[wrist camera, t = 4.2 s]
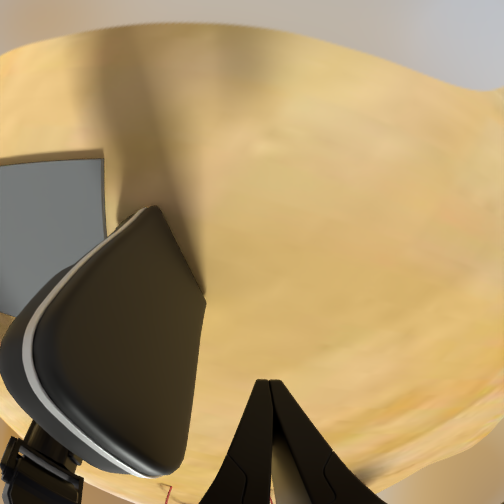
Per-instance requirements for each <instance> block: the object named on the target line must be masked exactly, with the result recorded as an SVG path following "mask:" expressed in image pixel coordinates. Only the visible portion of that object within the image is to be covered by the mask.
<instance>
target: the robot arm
mask: <svg viewBox="0 0 504 504" xmlns="http://www.w3.org/2000/svg"><path fill="white" fill-rule="evenodd" d="M332 451H333V450H332V448H331V447H330V446H329V444H328V443H327V442H326V440H325V439H324V438H323V436H322V435H321V434H320V433H319V431H318V430H317V429H316V427H315V426H314V425H313V423H312V422H311V421H310V419H309V418H308V417H307V415H306V414H305V412H304V411H303V410H302V408H301V407H300V406H299V404H298V403H297V402H296V400H295V399H294V397H293V396H292V395H291V393H290V392H289V391H288V389H287V388H286V386H285V385H284V384H283V382H282V381H281V380H269V381H268V380H267V379H257V380H256V382H255V384H254V387H253V390H252V392H251V395H250V397H249V400H248V403H247V405H246V408H245V410H244V413H243V415H242V418H241V420H240V423H239V425H238V428H237V430H236V433H235V435H234V438H233V440H232V442H231V445H230V447H229V450H228V452H227V455H226V456H225V459H224V461H223V464H222V466H221V468H220V470H219V472H218V474H217V476H216V478H215V479H214V481H213V483H212V484H211V486H210V487H209V489H208V491H207V492H206V493H205V495H204V496H203V498H202V499H201V501H200V502H199V504H270V487H271V475H272V481H273V487H274V493H275V499H276V504H387V503H385V502H384V501H383V500H381V499H380V498H379V497H378V496H377V495H376V494H374V493H373V492H372V491H371V490H370V489H369V488H368V487H367V486H366V485H365V484H363V483H362V482H361V481H360V480H359V479H358V478H357V477H356V476H355V475H354V474H353V473H352V472H351V471H350V470H349V469H348V468H347V467H346V465H345V464H344V463H343V462H342V461H341V460H340V458H339V457H338V456H337V454H336V453H335V452H334V451H333V452H332ZM18 452H20V453H22V454H23V456H21V455H19V454H18ZM82 460H83V459H81V458H80V457H78V456H77V455H75V454H74V453H72V452H71V451H70V450H68V449H67V448H66V447H64V446H63V445H62V444H60V443H59V442H58V441H56V440H55V439H54V438H53V437H52V436H50V435H49V434H48V433H47V432H46V431H45V430H44V429H43V428H42V427H41V426H39V425H38V424H37V423H36V422H35V421H34V420H33V421H32V423H31V425H30V427H29V429H28V431H27V433H26V436H25V438H24V440H21V439H20V438H18V439H17V438H15V437H12V436H11V438H10V440H9V442H8V445H7V447H6V450H5V452H4V454H3V457H2V460H1V463H0V468H1V470H2V473H1V474H2V478H1V479H2V480H3V481H4V482H6V484H5V487H4V491H3V494H2V498H3V501H4V504H81V500H82V490H83V481H84V478H83V477H81V476H77V475H76V474H75V470H76V467H77V465H79V466H80V465H81V463H82ZM501 504H504V502H503V503H501Z"/></svg>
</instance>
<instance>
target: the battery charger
mask: <svg viewBox="0 0 504 504" xmlns="http://www.w3.org/2000/svg"><path fill="white" fill-rule="evenodd" d="M205 308H206V300H205V298H204V296H203V294H202V292H201V290H200V288H199V286H198V284H197V283H196V281H195V279H194V277H193V275H192V273H191V271H190V269H189V267H188V265H187V263H186V261H185V259H184V257H183V255H182V253H181V251H180V249H179V247H178V245H177V243H176V241H175V239H174V237H173V235H172V233H171V231H170V229H169V227H168V225H167V222H166V220H165V218H164V216H163V214H162V212H161V210H160V209H159V207H157V206H151V207H149V208H147V207H144V208H142V209H140V210H138V212H137V213H135V214H133V215H131V216H129V217H128V218H127V219H126V220H124V221H123V222H122V223H121V224H120V225H119V226H118V227H116V229H115V231H114V232H113V233H112V234H110V235H109V236H108V237H107V238H106V239H105V240H103V241H102V242H101V243H99V244H98V245H96V246H95V247H94V248H93V249H92V250H90V251H89V252H88V253H87V254H85V255H84V256H83V257H82V258H81V259H80V260H78V261H77V262H76V263H75V264H73V265H71V266H69V267H67V268H65V269H63V270H61V271H60V272H59V273H57V274H56V275H55V276H54V277H53V278H51V279H50V280H49V281H48V282H47V283H46V284H45V285H44V286H43V287H42V288H41V289H40V290H39V291H38V293H37V294H36V295H35V296H34V297H33V298H32V299H31V300H30V301H29V303H28V304H27V305H26V306H25V307H24V309H23V310H22V311H21V312H20V313H19V315H18V316H17V317H16V318H15V320H14V321H13V322H12V324H11V325H10V326H9V328H8V330H7V332H6V334H5V336H4V337H3V339H2V342H1V347H0V374H1V376H2V379H3V381H4V384H5V386H6V388H7V390H8V391H9V393H10V394H11V395H12V397H13V398H14V399H15V401H16V402H17V403H18V405H19V406H20V407H21V408H22V409H23V410H24V411H25V412H26V413H27V414H28V415H29V416H30V417H31V418H32V419H33V420H34V421H35V422H36V423H37V424H38V425H39V426H41V427H42V428H43V429H44V430H45V431H46V432H47V433H48V434H49V435H50V436H52V437H53V438H54V439H55V440H56V441H58V442H59V443H60V444H62V445H63V446H64V447H66V448H67V449H68V450H70V451H71V452H72V453H74V454H75V455H77V456H78V457H80V458H81V459H83V460H84V461H86V462H87V463H89V464H90V465H92V466H94V467H96V468H98V469H100V470H103V471H106V472H110V473H119V474H131V475H134V476H137V477H140V478H158V477H161V476H163V475H170V474H171V473H173V472H174V471H175V470H177V469H178V468H179V467H180V465H181V463H182V461H183V459H184V455H185V450H186V446H187V439H188V432H189V425H190V419H191V411H192V404H193V396H194V389H195V380H196V371H197V363H198V354H199V345H200V336H201V330H202V324H203V318H204V313H205Z"/></svg>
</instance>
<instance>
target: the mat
mask: <svg viewBox="0 0 504 504" xmlns="http://www.w3.org/2000/svg"><path fill="white" fill-rule="evenodd" d="M106 238H107V233H106V219H105V199H104V159H76V160H58V161H44V162H32V163H22V164H13V165H4V166H0V312H1V313H4V314H7V315H11V316H14V317H17V316H18V315H19V313H20V312H21V311H22V310H23V309H24V307H25V306H26V305H27V304H28V303H29V301H30V300H31V299H32V298H33V297H34V296H35V295H36V294H37V293H38V291H39V290H40V289H41V288H42V287H43V286H44V285H45V284H46V283H47V282H48V281H49V280H50V279H51V278H53V277H54V276H55V275H56V274H57V273H59V272H60V271H61V270H63V269H65V268H67V267H69V266H71V265H73V264H75V263H76V262H77V261H78V260H80V259H81V258H82V257H83V256H84V255H85V254H87V253H88V252H89V251H90V250H92V249H93V248H94V247H95V246H96V245H98V244H99V243H101V242H102V241H103V240H105V239H106Z"/></svg>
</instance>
